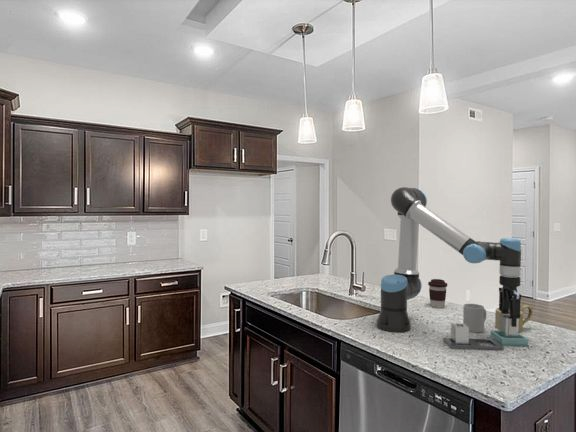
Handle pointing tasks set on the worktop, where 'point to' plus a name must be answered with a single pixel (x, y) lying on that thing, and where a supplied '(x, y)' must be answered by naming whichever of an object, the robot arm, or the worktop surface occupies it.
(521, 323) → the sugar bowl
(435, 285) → the coffee cup
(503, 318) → the steel cube with knob
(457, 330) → the light gray block
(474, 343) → the grey slotted plate
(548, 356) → the worktop surface
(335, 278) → the worktop surface
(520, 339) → the parts tray
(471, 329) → the mug
